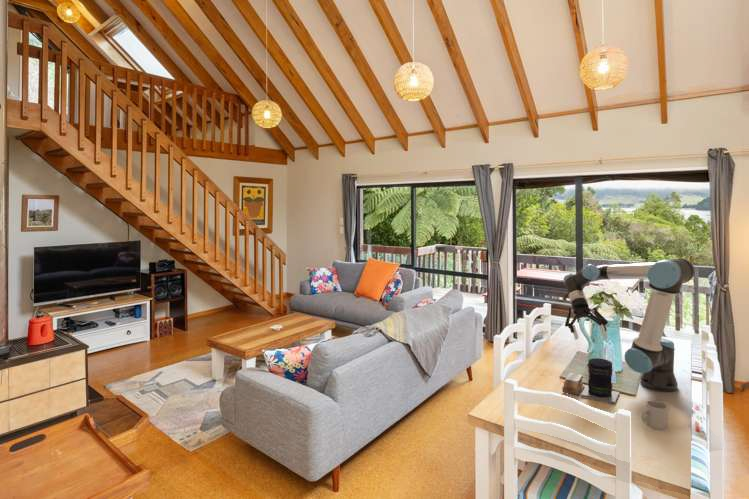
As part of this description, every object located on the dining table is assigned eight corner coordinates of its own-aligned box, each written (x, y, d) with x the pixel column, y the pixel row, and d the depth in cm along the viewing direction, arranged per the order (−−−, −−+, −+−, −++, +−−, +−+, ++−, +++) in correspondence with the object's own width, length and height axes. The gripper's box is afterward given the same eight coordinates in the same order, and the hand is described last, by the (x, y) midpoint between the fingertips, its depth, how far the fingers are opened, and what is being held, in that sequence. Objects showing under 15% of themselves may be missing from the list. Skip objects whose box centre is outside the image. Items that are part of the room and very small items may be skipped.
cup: (672, 429, 167) (672, 408, 167) (647, 431, 167) (648, 409, 166) (658, 420, 175) (659, 399, 174) (635, 422, 174) (635, 401, 173)
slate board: (619, 394, 199) (619, 392, 199) (614, 404, 190) (614, 401, 190) (586, 387, 208) (586, 385, 208) (580, 396, 198) (580, 394, 198)
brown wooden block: (584, 387, 208) (584, 374, 207) (578, 396, 199) (578, 382, 198) (568, 384, 212) (568, 371, 212) (562, 392, 203) (562, 379, 203)
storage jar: (584, 393, 199) (585, 362, 197) (592, 386, 206) (592, 356, 204) (608, 399, 192) (608, 367, 190) (615, 392, 199) (615, 361, 197)
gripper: (600, 304, 224) (614, 340, 210) (552, 305, 225) (562, 342, 212) (605, 296, 218) (620, 333, 204) (555, 297, 219) (567, 335, 206)
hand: (591, 338), depth 208 cm, fingers open, 13 cm apart
